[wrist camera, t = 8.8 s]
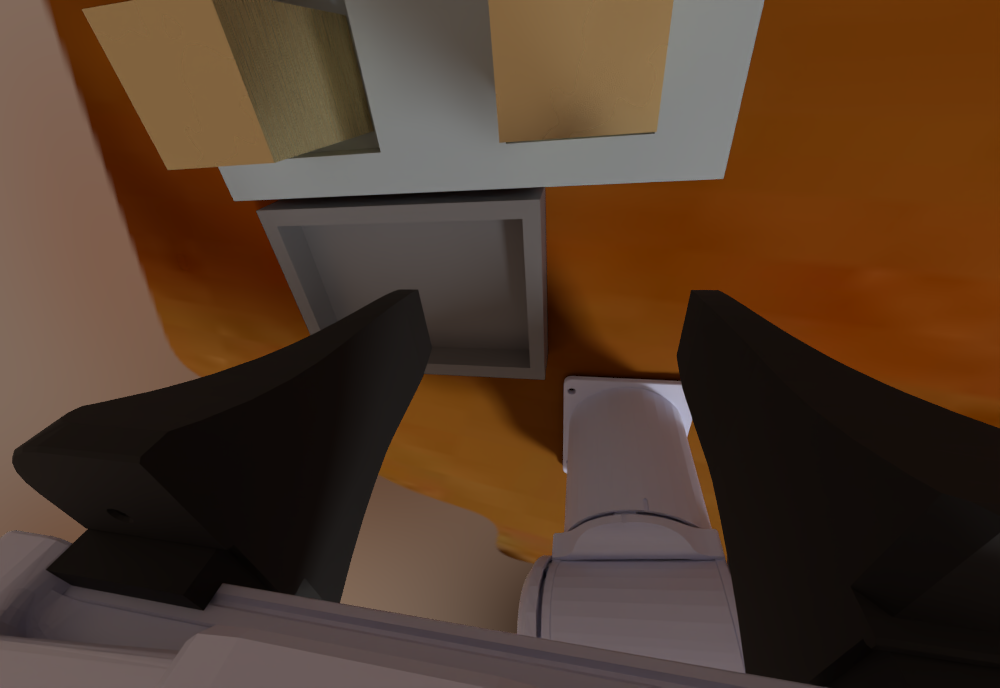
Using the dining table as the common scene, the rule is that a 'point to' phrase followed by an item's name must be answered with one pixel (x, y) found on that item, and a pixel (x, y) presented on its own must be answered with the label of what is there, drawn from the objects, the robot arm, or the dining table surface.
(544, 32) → the block
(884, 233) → the dining table surface
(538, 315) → the grey shallow rectangular tray
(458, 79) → the grey pocketed tray
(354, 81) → the block
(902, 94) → the dining table surface
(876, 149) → the dining table surface
